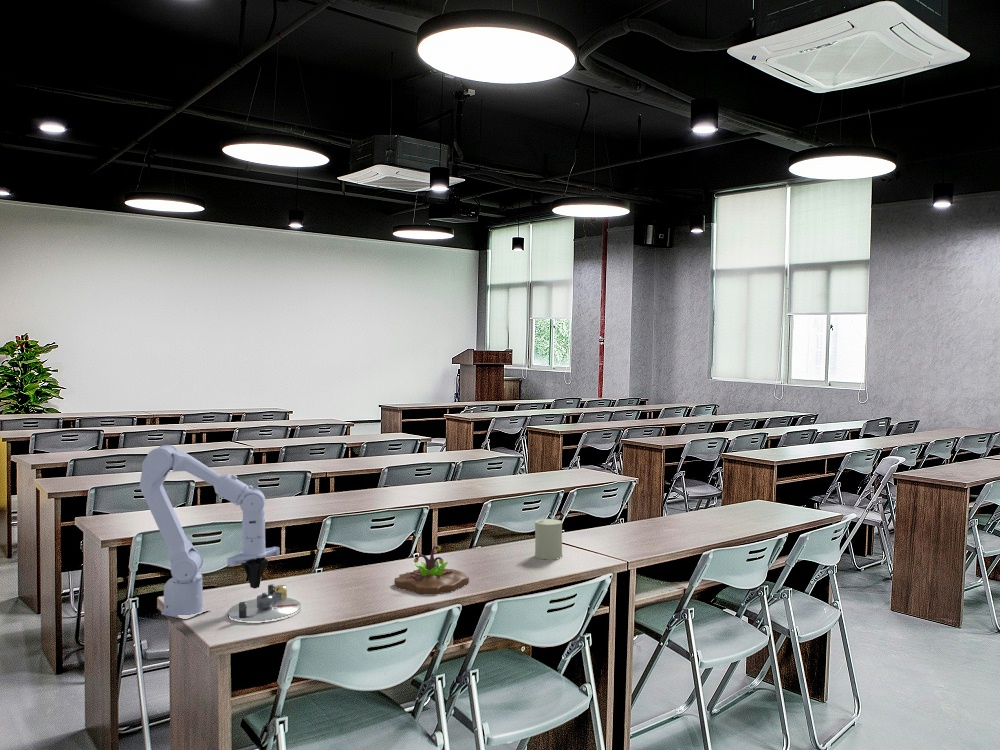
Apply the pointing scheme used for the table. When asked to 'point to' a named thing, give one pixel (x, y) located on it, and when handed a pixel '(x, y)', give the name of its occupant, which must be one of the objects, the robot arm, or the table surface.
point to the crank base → (252, 613)
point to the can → (548, 539)
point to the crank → (272, 597)
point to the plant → (431, 577)
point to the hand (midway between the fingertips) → (254, 587)
